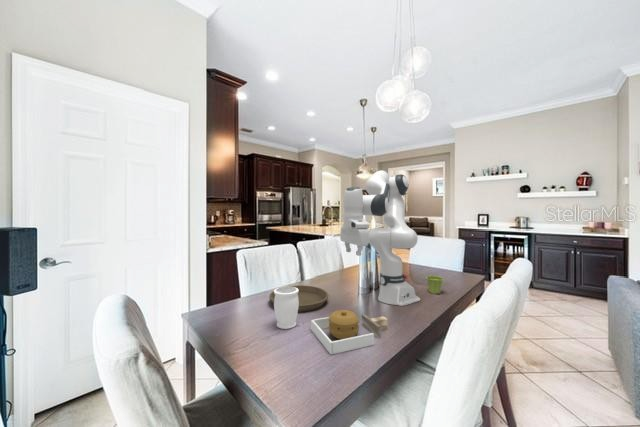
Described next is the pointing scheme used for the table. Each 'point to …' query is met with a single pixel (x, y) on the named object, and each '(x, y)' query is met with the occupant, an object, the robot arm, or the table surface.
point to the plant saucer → (308, 297)
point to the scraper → (375, 324)
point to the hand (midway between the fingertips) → (353, 253)
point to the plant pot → (434, 284)
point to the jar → (286, 306)
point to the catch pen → (342, 344)
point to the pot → (343, 324)
